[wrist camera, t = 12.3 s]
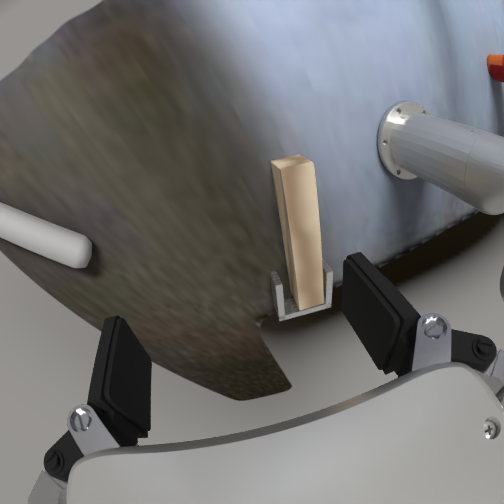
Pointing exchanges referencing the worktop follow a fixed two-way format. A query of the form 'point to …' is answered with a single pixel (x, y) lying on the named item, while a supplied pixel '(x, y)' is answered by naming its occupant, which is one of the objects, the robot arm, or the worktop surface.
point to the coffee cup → (496, 67)
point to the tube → (44, 237)
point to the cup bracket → (289, 306)
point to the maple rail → (300, 228)
